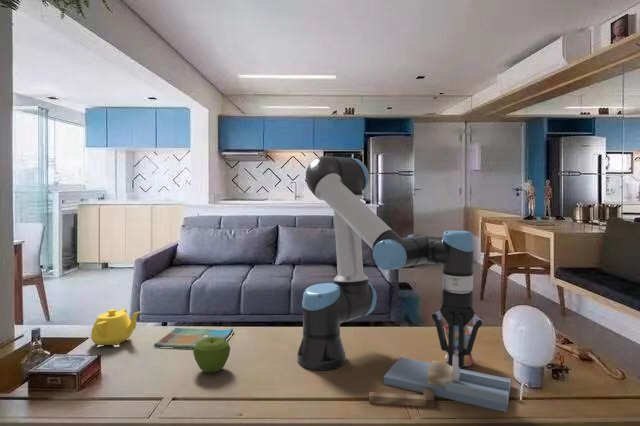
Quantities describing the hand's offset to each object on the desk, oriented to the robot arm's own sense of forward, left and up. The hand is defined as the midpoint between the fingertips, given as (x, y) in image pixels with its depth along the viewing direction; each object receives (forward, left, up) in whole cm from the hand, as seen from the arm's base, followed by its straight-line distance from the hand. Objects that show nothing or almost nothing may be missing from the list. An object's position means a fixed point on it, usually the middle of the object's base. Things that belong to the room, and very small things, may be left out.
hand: (455, 378), depth 107 cm
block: (-4, 0, -2) cm, 4 cm away
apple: (-66, -21, -4) cm, 69 cm away
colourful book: (-89, -5, -5) cm, 89 cm away
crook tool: (-12, -10, -4) cm, 16 cm away
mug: (-3, +21, -4) cm, 21 cm away
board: (-3, +3, -4) cm, 6 cm away
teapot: (-111, -20, -4) cm, 113 cm away
